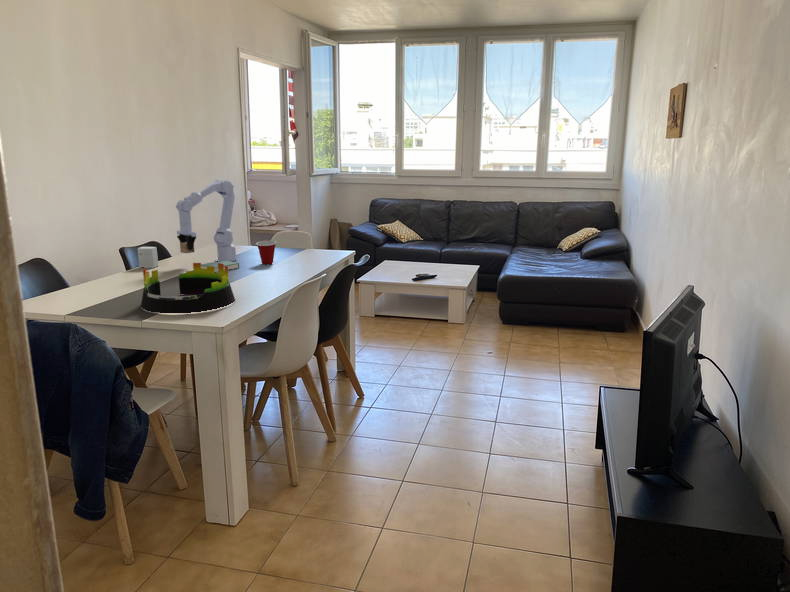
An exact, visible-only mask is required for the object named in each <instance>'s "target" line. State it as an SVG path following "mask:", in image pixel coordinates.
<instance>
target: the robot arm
mask: <svg viewBox="0 0 790 592" xmlns="http://www.w3.org/2000/svg"><path fill="white" fill-rule="evenodd" d="M214 192H217V193H218V194H219V195H220V196H221V197H222V198H223V201H222V209H221V215H220V222H219V227H218V228H217V229H216V232H215V234H214V236H213V241H214V242H215V243H216V247H217V249H216V250H217V251H216V253H217V259H214V262H217V261H224V260H226V261H231V262H236V261H237V250H236V247H235V245H234V244H232V243H233V242H234V239H233V231H232V230H231V223H232V219H233V217H232V216H233V211H234V203H235V192H234V185H233V184H232V182H231V181H230V180H219V179H216V180H215V181H213V182H211V183H210V184H209V185H207V186H206V187H205V188H203V189H201V190H200V191H199V192H197V191H195V192H194V191H192V192H191V193H190V195H188V196H185V197H183V199H180V200H178V201H177V203H176V205H175V208H176V210H178V211H177V212H178V215H179V216H178V218H179V219H178V220H179V229H180V230H179V229H178V230H176V237H177V239H178V240H179V244H180V243H182V242H187V245H188V250H193V245H194V246H195V241H196V240H197V233H196V232H194V231H193V228H192V226H193V225H192V215H191V211H192V210H193V208H194V207H195V206H197V205H199V204H201V202H203V199H204V198H206V197H207V196H209V195H210V194H212V193H214ZM235 260H236V261H235Z"/></svg>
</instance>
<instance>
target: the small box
mask: <svg viewBox="0 0 790 592" xmlns="http://www.w3.org/2000/svg"><path fill="white" fill-rule="evenodd" d="M157 250H158V249H157V246H140V247H138V248H137V259H138V266H139V267H138V268H139V269H142V268H141V267H144V268H143V269H155V268H158V267H159V258H158V251H157ZM157 266H158V267H157ZM154 267H155V268H154Z"/></svg>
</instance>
